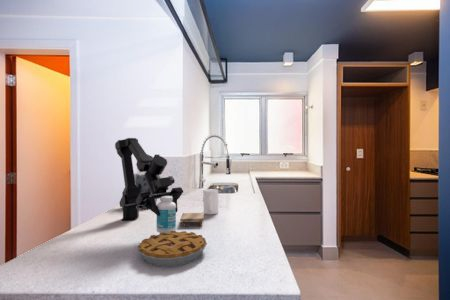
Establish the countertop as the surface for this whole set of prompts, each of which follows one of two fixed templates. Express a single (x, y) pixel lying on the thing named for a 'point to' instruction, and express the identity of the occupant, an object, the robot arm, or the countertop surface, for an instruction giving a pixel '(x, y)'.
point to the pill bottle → (166, 215)
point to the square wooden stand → (192, 218)
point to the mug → (210, 201)
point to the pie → (172, 248)
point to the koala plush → (141, 184)
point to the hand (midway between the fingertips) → (168, 213)
